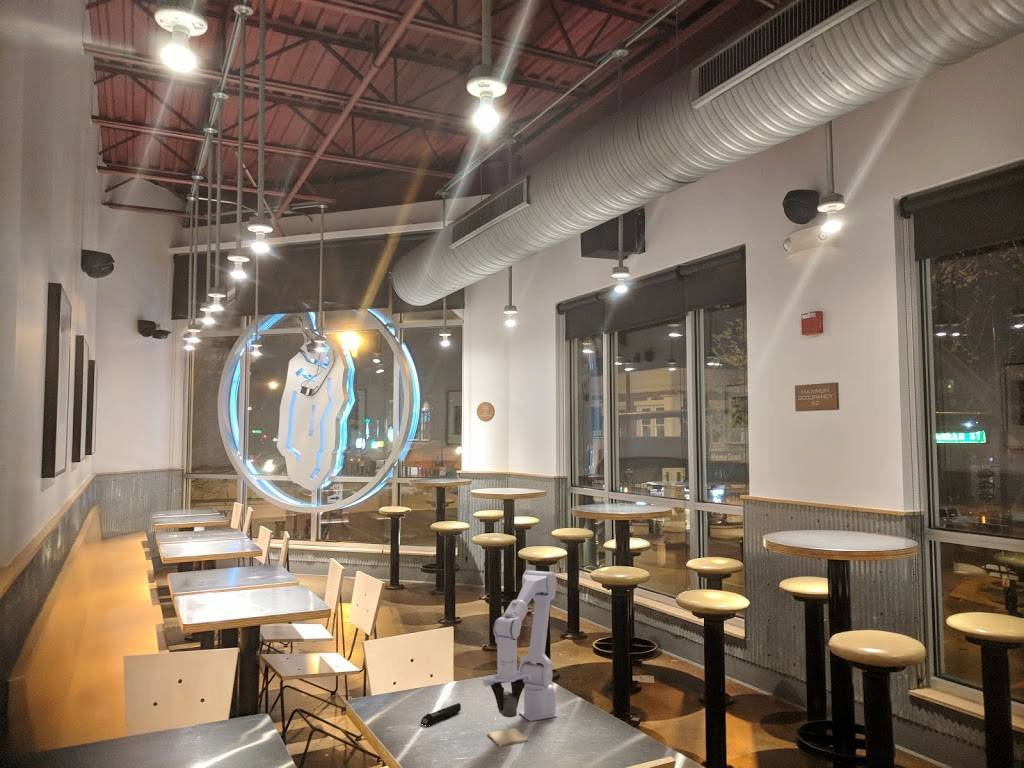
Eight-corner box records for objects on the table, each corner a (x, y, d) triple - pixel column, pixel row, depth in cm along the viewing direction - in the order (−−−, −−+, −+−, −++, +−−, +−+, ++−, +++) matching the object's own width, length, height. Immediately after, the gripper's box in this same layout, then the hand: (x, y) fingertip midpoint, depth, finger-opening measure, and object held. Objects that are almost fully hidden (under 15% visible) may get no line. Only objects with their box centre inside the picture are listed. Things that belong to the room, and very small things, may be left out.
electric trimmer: (464, 714, 237) (464, 703, 237) (428, 728, 225) (428, 717, 225) (455, 711, 239) (455, 701, 239) (419, 725, 227) (419, 714, 227)
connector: (518, 716, 214) (518, 698, 215) (506, 718, 213) (506, 700, 213) (506, 706, 222) (506, 688, 223) (493, 708, 221) (493, 690, 221)
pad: (515, 730, 222) (515, 727, 222) (528, 740, 214) (528, 738, 214) (487, 735, 218) (487, 732, 218) (499, 746, 210) (499, 744, 210)
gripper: (489, 666, 211) (489, 716, 210) (535, 660, 217) (536, 708, 216) (480, 660, 218) (480, 708, 216) (525, 654, 223) (525, 701, 222)
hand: (507, 708), depth 217 cm, fingers closed on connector, 4 cm apart
